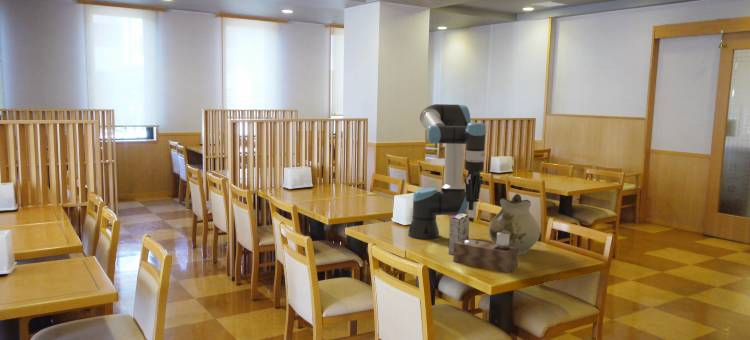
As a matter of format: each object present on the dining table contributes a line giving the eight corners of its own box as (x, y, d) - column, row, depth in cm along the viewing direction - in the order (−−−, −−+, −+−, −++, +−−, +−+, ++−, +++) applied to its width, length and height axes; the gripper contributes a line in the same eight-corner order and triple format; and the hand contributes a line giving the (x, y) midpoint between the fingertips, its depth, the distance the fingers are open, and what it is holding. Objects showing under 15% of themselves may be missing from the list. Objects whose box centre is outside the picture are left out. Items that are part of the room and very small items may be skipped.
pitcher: (506, 259, 242) (510, 201, 239) (476, 246, 264) (479, 192, 261) (549, 256, 251) (553, 200, 248) (516, 243, 272) (520, 191, 270)
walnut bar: (453, 261, 237) (454, 242, 236) (463, 256, 246) (464, 238, 245) (508, 272, 224) (509, 252, 223) (517, 266, 232) (518, 247, 231)
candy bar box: (458, 248, 259) (459, 213, 257) (468, 250, 256) (470, 214, 254) (447, 253, 249) (449, 217, 247) (458, 255, 247) (460, 218, 244)
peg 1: (461, 258, 238) (462, 241, 237) (466, 256, 242) (467, 238, 241) (472, 260, 235) (473, 243, 234) (477, 258, 239) (478, 240, 238)
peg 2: (494, 252, 230) (495, 233, 229) (498, 249, 234) (499, 231, 233) (505, 254, 227) (506, 235, 226) (510, 251, 231) (511, 233, 230)
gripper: (476, 163, 226) (473, 221, 229) (489, 160, 237) (486, 216, 240) (459, 161, 230) (456, 218, 233) (472, 158, 241) (469, 213, 244)
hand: (471, 217), depth 237 cm, fingers closed
